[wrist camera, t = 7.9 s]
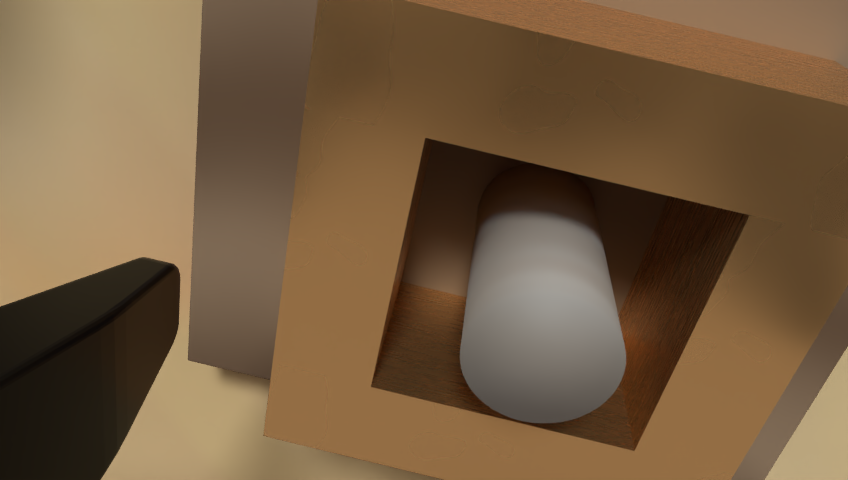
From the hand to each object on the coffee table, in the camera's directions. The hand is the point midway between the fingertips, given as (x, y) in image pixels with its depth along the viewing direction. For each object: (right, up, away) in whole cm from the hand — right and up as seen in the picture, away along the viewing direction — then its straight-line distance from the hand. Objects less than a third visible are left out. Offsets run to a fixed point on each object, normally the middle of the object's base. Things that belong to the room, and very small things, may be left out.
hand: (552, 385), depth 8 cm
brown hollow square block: (0, +2, +4) cm, 5 cm away
